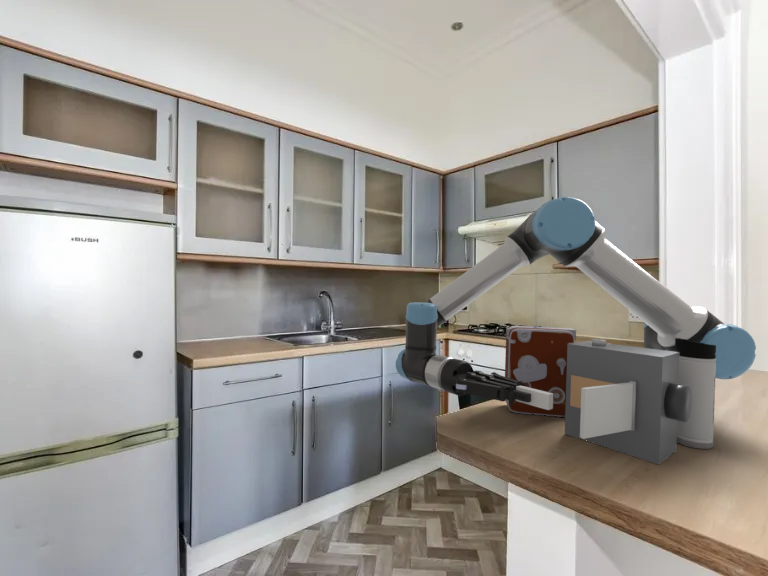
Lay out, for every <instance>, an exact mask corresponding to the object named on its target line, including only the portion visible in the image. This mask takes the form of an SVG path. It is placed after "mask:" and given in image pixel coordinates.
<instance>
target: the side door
mask: <svg viewBox="0 0 768 576" xmlns="http://www.w3.org/2000/svg"><path fill="white" fill-rule="evenodd" d="M635 404H636V382H635V381H629V383H620V384H611V385H603V386H594V387H586V388H581V416H580V438H583V439H586V438H591V437H596V436H601V435H607V434H612V433H617V432H622V431H628V430H630V431H635Z"/></svg>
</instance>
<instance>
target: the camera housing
mask: <svg viewBox="0 0 768 576" xmlns="http://www.w3.org/2000/svg"><path fill="white" fill-rule="evenodd" d="M679 356H680V352H674V351H666V350H658V349H650V348H644V347H643V346H642V347H641V346H634V345H624V344H617V343H612V342H611V343H610V342H609V343H608V342H607V340H606V339H600V338H592V339H591V340H584V341H577V342H574V343H570V344H568V345H567V377H566V409H565V417H564V435H566V436H570V437H573V438H575V439H578V438H579V440H581V439H583V438H580V416H581V388H586V387H594V386H603V385H611V384H620V383H629V381H635V382H636V404H635V431H630V430H628V431H622V432H617V433H612V434H607V435H601V436H596V437H591V438H586V439H583V440H582V441H584V440H587V441H590V442H589V443H591V442H593V443H592V444H594V443H596V444H595V445H597V444H598V446H600V445H601V447H603V446H604V447H603V448H606V447H607V448H606V449H610V450H613V451H616V452H618V451H619V453H621V452H622V454H625V453H626V454H625V455H628V456H631V457H634V458H636V459H640V460H642V461H643V460H644V461H647V462H650V463H653V464H656V465H661V464H662V463H664V462H665V461H666V460H667V459H668V458H669V456H670V455H671V454H672V453H673V454H675V453H676V452H677V420H678V421H683V422H687V421H688V419H689V416H690V413H691V408H692V391H691V388H690V387H689V386H684V385H679ZM587 441H586V442H587ZM675 451H676V452H675ZM674 452H675V453H674ZM673 454H672V455H673ZM672 455H671V456H672ZM671 456H670V457H671ZM667 457H668V458H667ZM666 458H667V459H666ZM665 459H666V460H665Z"/></svg>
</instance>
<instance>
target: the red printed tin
mask: <svg viewBox="0 0 768 576" xmlns="http://www.w3.org/2000/svg"><path fill="white" fill-rule="evenodd" d="M505 330H506V336H505V359H504V361H505V363H504V365H505V366H504V377H507V378H510V379H513V380H516V381H522V382H523V383H524V386H525V387H529V388H533V389H537V390H541V391H545V392H549V393H553V409H550V410H546V409H542V408H539V407H535V406H532V405H528V404H525V403H521V402H518V401H516V399H514V404H513V405H511V404H509V400H507V399H506V401H505V402H506V403H505V404H506V405H507V409H508V410H509V411H510V412H512V413H515V414H522V415H532V414H534V416H535V415H536V416H544V415H546V416H545V417H555V416H556V417H558V418H565V409H566V377H567V345H568V344H570V343H575V341H577V330H576V329H574V328H569V327H554V326H553V327H552V326H538V325H533V326H530V325H529V326H528V325H512V326H509V327H506V329H505Z"/></svg>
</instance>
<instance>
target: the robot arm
mask: <svg viewBox="0 0 768 576" xmlns="http://www.w3.org/2000/svg"><path fill="white" fill-rule="evenodd" d="M548 255H550V256H551V257H552V258H553V259H555V260H556V261H557V262H559V263H560V264H561V265H562V266H564V267H565V268H567V267H568V268H569V267H576V268H577V269H578V270H579V271H580V272H581V273H583V274H584V275H586V276H587V277H588V278H589V279H590V280H592V281H593V282H594V283H595V284H597V285H598V286H600V288H602V290H604V291H605V292H606V293H608V294H609V295H610V296H611V297H613V298H614V299H615V300H616V301H617V302H619V303H620V304H621V305H623V306H624V307H625V308H626V309H627V310H629V311H630V312H631V313H632V314H634V316H635V317H638V318H639V320H641V321H642V322H643V323H644V326H643V348H650V349H658V350H666V351H674V352H675V350H676V349H675V339H676V338H681V339H687V341H694V342H700V343H704V344H710V345H716V353H715V355H716V361H715V362H716V375H715V379H717V380H733V379H736V378H738V377H740V376H742V375H743V374H745V373H746V372H748V371H749V369H750V368H751V367H752V366H753V364H754V363H755V359H756V350H757V347H756V342H755V340H754V338H753V336H752V335H751V334H750V333H749V332H748V331H747V330H745V329H744V328H742V327H739V326H737V325H735V324H729V323H728V324H727V323H725V322H723V321H721V320H720V319H719V318H718V317H716V316H715V315H714V314H713V313H712V312H710V311H709V310H708V309H706V308H705V307H703V306H690V305H689V304H688V303H687V302H685V301H684V300H683V299H682V298H680V297H679V296H678V295H677V294H676V293H674V292H673V291H672V290H670V289H669V288H668V287H666V286H665V285H664V284H662V283H661V282H660V281H659V280H657V279H656V278H655V277H654V276H652V275H651V274H650V273H649V272H647V270H645V269H644V268H643V267H641V266H640V265H639V264H637V263H636V261H634V260H633V259H631V258H630V257H629V256H628V255H626V254H625V253H624V252H623V251H621V250H620V249H619V248H617V246H615V245H614V244H613V243H611V242H610V241H609V240H608V239H606V237H605V228H604V227H603V225H601V224H600V223H598V222H597V221H596V219H595V214H594V212H593V211H592V209H591V207H590V206H589V205H588V204H587V203H586V202H584V201H583V200H581V199H578V198H575V197H571V196H568V197H567V196H564V197H557V198H554V199H551V200H548V201H547V202H545V203H543V204H542V205H540V207H539V208H537V209H536V210H535V211H533V212H532V213H531V214H530V215H528V216H527V218H526V219H525V220H523V222H522V223H521V224H520V225H519V226H518V227H517V228H516V229H514V231H512V232H511V233H510V234H509V235H507V236H506V237H505V239H504V243H503V244H501V245H500V246H499V247H497V248H496V249H494V251H492V252H490V254H488V255H487V256H485V257H484V258H483V259H481V260H480V261H478V262H477V263H476V264H474V266H472V267H471V268H469V269H468V270H467V271H465V272H464V273H462V274H461V275H460V276H459V277H457V278H456V279H454V280H453V281H452V282H451V283H449V284H448V285H447V286H445V287H444V288H442V289H441V290H440V291H439V292H437V293H436V294H434V295H433V296H432V297H430V298H429V299H428V300H427V301H425V302H423V301H422V302H420V301H419V302H417V301H415V302H409V303H408V304H406V314H405V347H404V349H402V350H401V351H400V352H399V353H398V355H397V358H396V360H395V370H396V372H397V374H398V375H399V376H400V377H402V378H403V379H406V380H408V381H410V382H413V383H416V384H417V383H418V384H420V385H424V386H428V387H430V388H434V389H437V390H438V392H446V393H449V394H452V395H456V396H465V395H466V394H467V395H472V396H476V397H480V398H485V399H491V400H495V401H500V402H506V399H507V400H509V404H511V405H513V404H514V399H516V401H518V402H521V403H525V404H528V405H532V406H535V407H539V408H542V409H546V410H550V409H553V393H549V392H545V391H541V390H537V389H533V388H529V387H525V386H524V383H523V382H522V381H516V380H513V379H510V378H507V377H505V375H500V374H499V373H497V372H496V371H495V372H491V373H490V374H489V373H485V372H483V371H481V370H474V369H473V367H472V365H471V363H469V362H468V361H466V360H462V359H458V358H453V357H449V356H444V355H439V354H437V332H438V329H437V328H439V327H440V326H442V325H443V324H444V323H445V322H447V321H448V320H449V319H451V318H452V317H454V316H455V315H456V314H457V313H459V312H461V311H462V310H463V309H465V308H466V307H467V306H469V305H470V304H473V302H474V301H476V300H477V299H478V298H480V297H481V296H482V295H484V294H485V293H487V292H489V290H491V289H492V288H494V287H495V286H497V285H498V284H499V283H501V282H502V281H503V280H505V279H506V278H507V277H509V276H511V274H513V273H514V272H515V271H517V270H518V269H520V268H521V267H523V266H524V267H529V266H531V265H532V264H533V263H535V262H536V261H537V260H540V259H542V258H543V257H546V256H548Z"/></svg>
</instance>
